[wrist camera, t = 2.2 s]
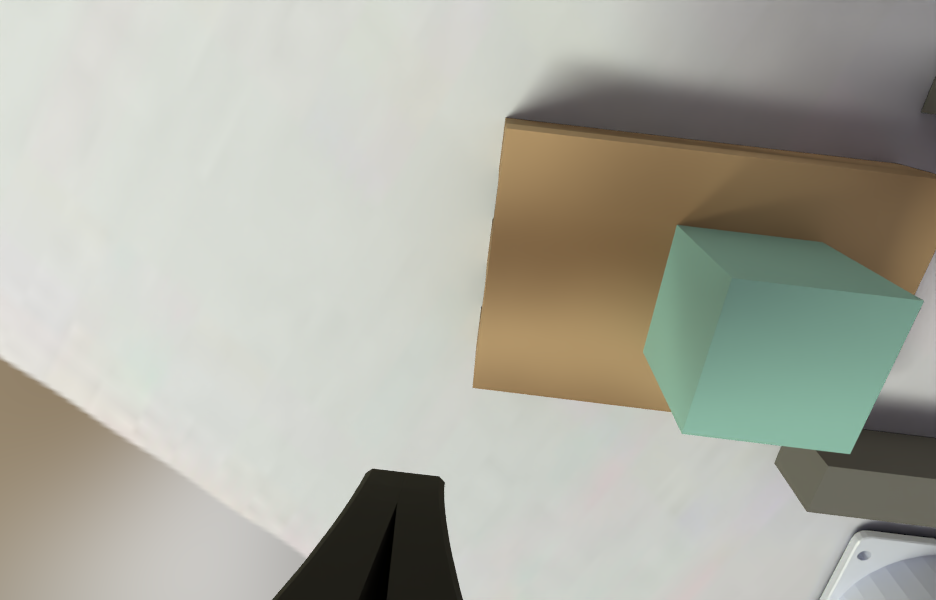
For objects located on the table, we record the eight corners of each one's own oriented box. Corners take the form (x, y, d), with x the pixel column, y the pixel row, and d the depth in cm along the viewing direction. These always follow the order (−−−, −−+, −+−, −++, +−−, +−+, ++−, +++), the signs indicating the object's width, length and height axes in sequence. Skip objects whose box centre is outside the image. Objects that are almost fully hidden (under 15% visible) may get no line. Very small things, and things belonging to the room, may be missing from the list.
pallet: (802, 382, 20) (848, 433, 18) (476, 343, 20) (472, 387, 18) (893, 162, 17) (967, 182, 14) (505, 117, 17) (506, 128, 14)
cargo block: (774, 367, 17) (849, 453, 13) (642, 352, 17) (681, 433, 13) (822, 242, 15) (923, 300, 12) (676, 224, 15) (731, 277, 12)
